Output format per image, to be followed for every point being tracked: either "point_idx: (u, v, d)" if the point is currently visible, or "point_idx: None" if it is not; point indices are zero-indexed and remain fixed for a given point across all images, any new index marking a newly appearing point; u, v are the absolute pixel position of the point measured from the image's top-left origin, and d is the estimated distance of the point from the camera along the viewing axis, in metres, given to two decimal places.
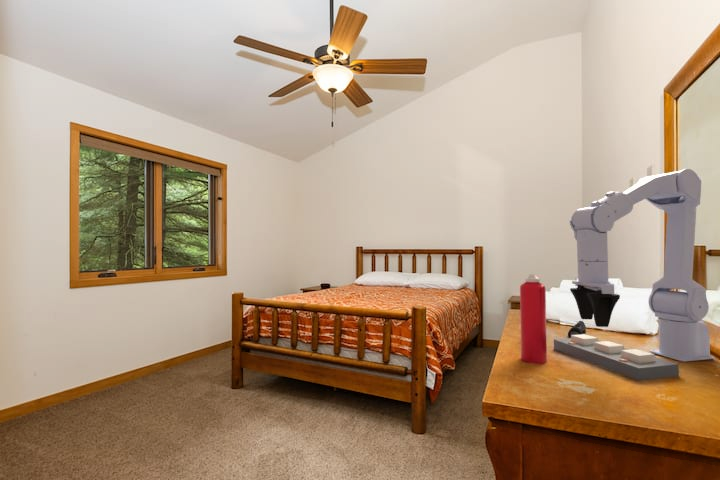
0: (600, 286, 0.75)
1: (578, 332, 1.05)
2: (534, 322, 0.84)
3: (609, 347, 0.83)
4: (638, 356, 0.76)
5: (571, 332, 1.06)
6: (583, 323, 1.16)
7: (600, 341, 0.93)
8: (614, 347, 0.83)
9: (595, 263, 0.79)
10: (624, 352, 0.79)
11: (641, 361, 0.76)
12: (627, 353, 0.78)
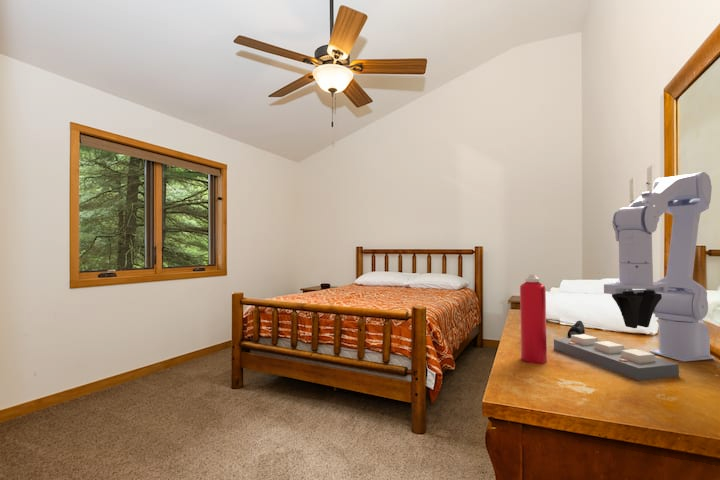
0: None
1: (578, 332, 1.05)
2: (534, 322, 0.84)
3: (609, 347, 0.83)
4: (638, 356, 0.76)
5: (571, 332, 1.06)
6: (581, 323, 1.16)
7: (600, 341, 0.93)
8: (614, 347, 0.83)
9: (622, 264, 0.78)
10: (624, 352, 0.79)
11: (641, 361, 0.76)
12: (627, 353, 0.78)
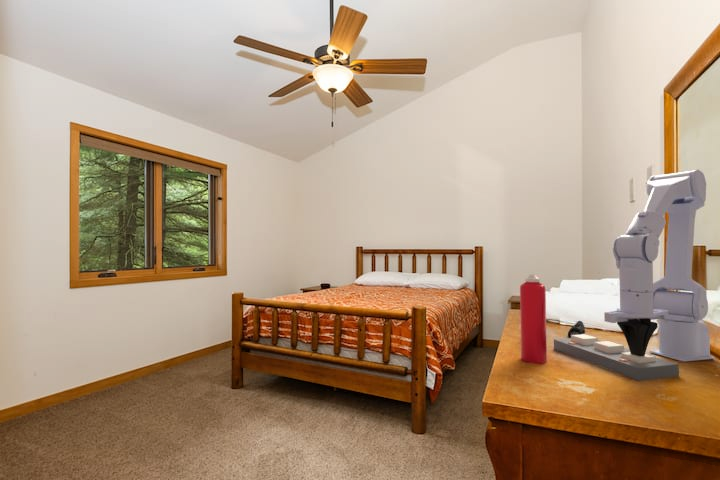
0: None
1: (578, 332, 1.05)
2: (534, 322, 0.84)
3: (609, 347, 0.83)
4: (638, 358, 0.76)
5: (571, 332, 1.06)
6: (582, 323, 1.16)
7: (600, 341, 0.93)
8: (614, 347, 0.83)
9: (623, 292, 0.78)
10: (624, 354, 0.79)
11: None
12: (627, 355, 0.78)
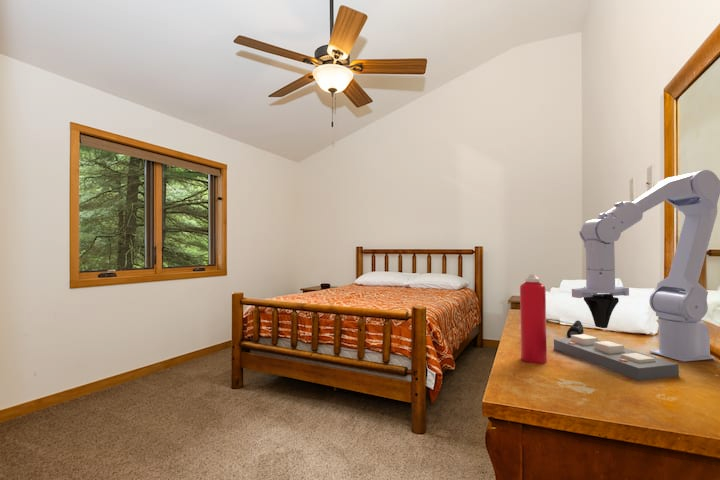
0: None
1: (577, 332, 1.06)
2: (534, 322, 0.84)
3: (609, 347, 0.83)
4: (638, 360, 0.76)
5: (570, 332, 1.07)
6: (580, 323, 1.16)
7: (600, 341, 0.93)
8: (614, 347, 0.83)
9: (588, 271, 0.87)
10: (624, 356, 0.79)
11: None
12: (627, 357, 0.78)
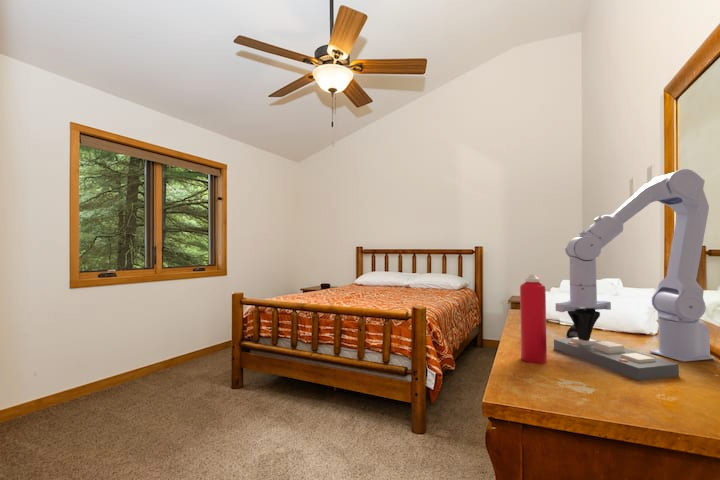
0: None
1: None
2: (534, 322, 0.84)
3: (609, 347, 0.83)
4: (638, 360, 0.76)
5: (570, 332, 1.07)
6: None
7: (600, 341, 0.93)
8: (614, 347, 0.83)
9: (571, 286, 0.92)
10: (624, 356, 0.79)
11: None
12: (627, 357, 0.78)
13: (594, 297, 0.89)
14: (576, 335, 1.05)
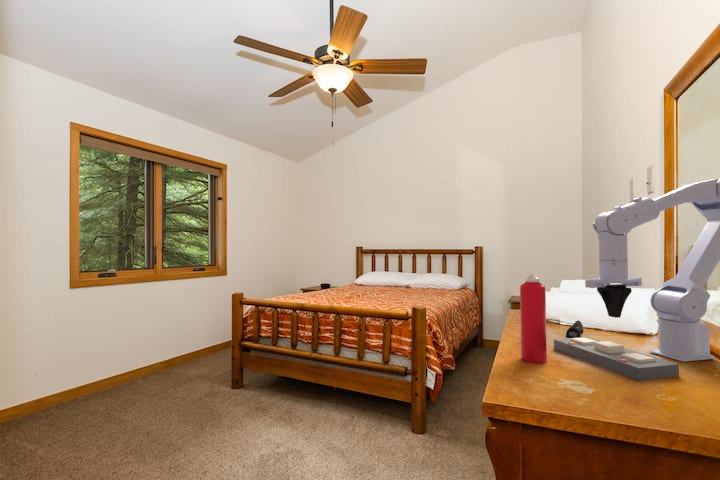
0: None
1: (576, 332, 1.06)
2: (534, 322, 0.84)
3: (609, 347, 0.83)
4: (638, 360, 0.76)
5: (569, 332, 1.07)
6: (580, 323, 1.16)
7: (600, 341, 0.93)
8: (614, 347, 0.83)
9: (601, 262, 0.89)
10: (624, 356, 0.79)
11: None
12: (627, 357, 0.78)
13: (626, 272, 0.86)
14: (575, 335, 1.06)
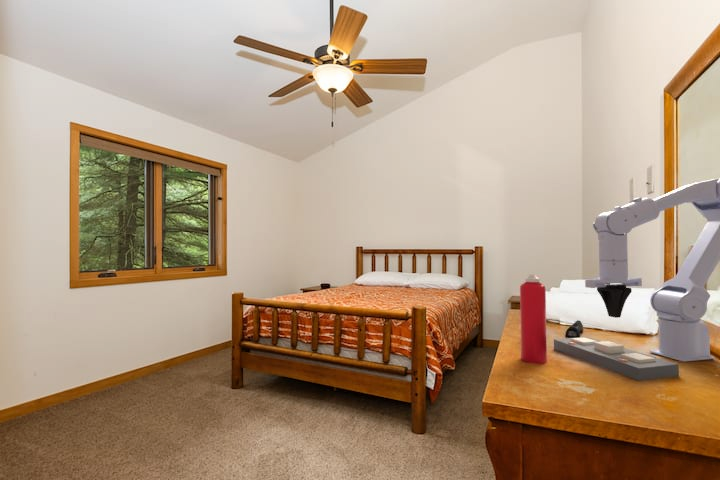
0: None
1: (575, 332, 1.06)
2: (534, 322, 0.84)
3: (609, 347, 0.83)
4: (638, 360, 0.76)
5: (568, 332, 1.07)
6: (580, 323, 1.16)
7: (600, 341, 0.93)
8: (614, 347, 0.83)
9: (601, 262, 0.89)
10: (624, 356, 0.79)
11: None
12: (627, 357, 0.78)
13: (626, 272, 0.86)
14: (575, 335, 1.06)
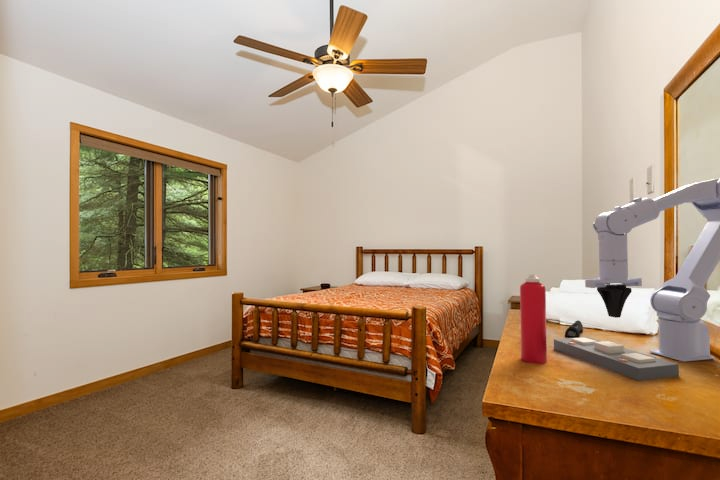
0: None
1: (575, 331, 1.06)
2: (534, 322, 0.84)
3: (609, 347, 0.83)
4: (638, 360, 0.76)
5: (568, 332, 1.07)
6: (580, 323, 1.16)
7: (600, 341, 0.93)
8: (614, 347, 0.83)
9: (601, 262, 0.89)
10: (624, 356, 0.79)
11: None
12: (627, 357, 0.78)
13: (626, 272, 0.86)
14: (574, 335, 1.06)
